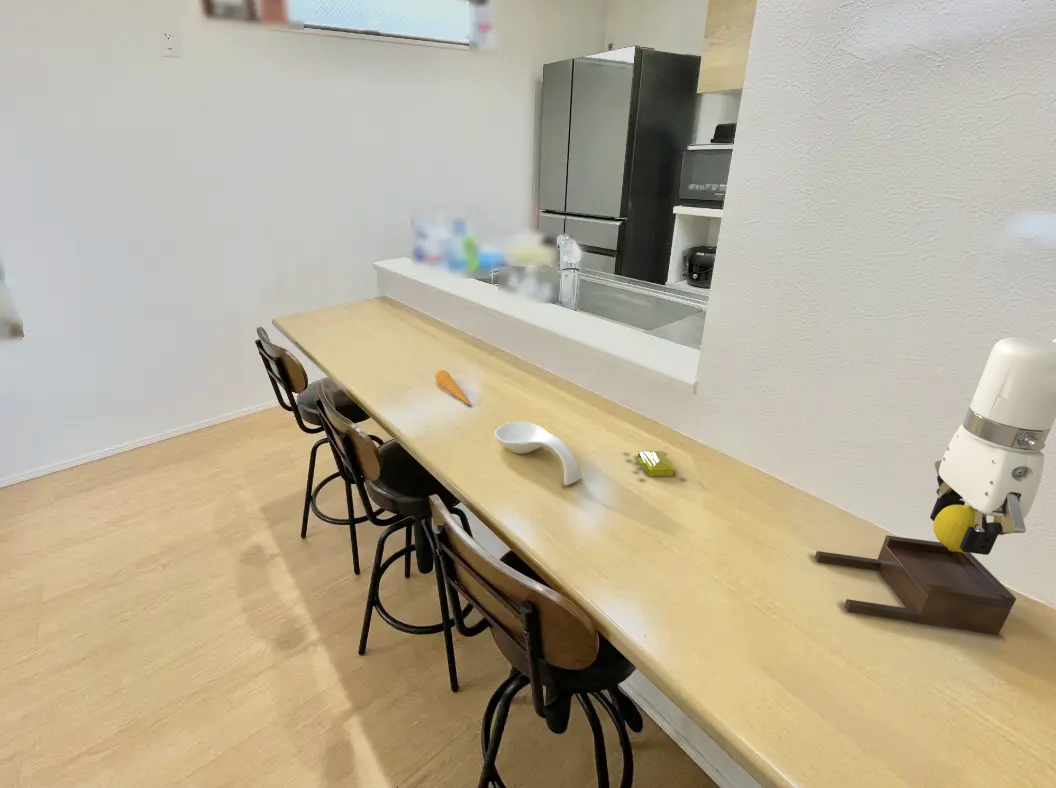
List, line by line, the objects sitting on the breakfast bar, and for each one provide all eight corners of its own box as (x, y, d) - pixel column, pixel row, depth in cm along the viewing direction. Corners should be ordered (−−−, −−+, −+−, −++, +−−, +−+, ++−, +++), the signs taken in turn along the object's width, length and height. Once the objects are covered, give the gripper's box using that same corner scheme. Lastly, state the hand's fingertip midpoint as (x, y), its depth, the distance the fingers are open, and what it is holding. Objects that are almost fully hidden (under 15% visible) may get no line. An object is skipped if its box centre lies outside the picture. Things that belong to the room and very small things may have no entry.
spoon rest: (485, 443, 120) (485, 417, 117) (521, 428, 126) (522, 403, 123) (555, 493, 101) (557, 464, 99) (593, 474, 107) (596, 445, 105)
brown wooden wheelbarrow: (945, 575, 81) (959, 541, 78) (998, 635, 70) (1016, 598, 68) (814, 557, 85) (824, 524, 82) (847, 611, 74) (859, 575, 72)
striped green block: (683, 479, 105) (685, 468, 104) (640, 480, 105) (642, 468, 104) (664, 453, 115) (666, 442, 114) (625, 454, 115) (626, 443, 114)
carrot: (435, 382, 154) (431, 372, 151) (447, 375, 155) (443, 364, 152) (466, 415, 138) (461, 404, 135) (479, 407, 139) (475, 396, 136)
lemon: (917, 541, 75) (934, 498, 72) (941, 533, 77) (959, 491, 74) (961, 568, 70) (981, 523, 67) (986, 559, 72) (1007, 515, 69)
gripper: (1101, 469, 58) (1039, 587, 64) (987, 402, 73) (947, 502, 80) (1023, 461, 59) (970, 577, 65) (928, 397, 75) (893, 496, 81)
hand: (958, 535), depth 72 cm, fingers closed on lemon, 5 cm apart
